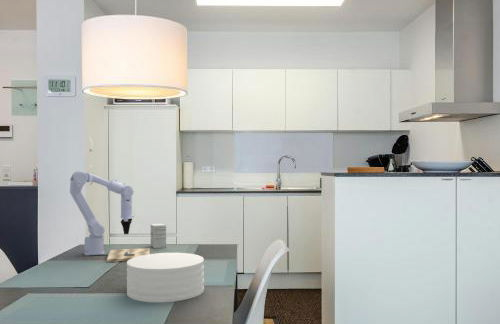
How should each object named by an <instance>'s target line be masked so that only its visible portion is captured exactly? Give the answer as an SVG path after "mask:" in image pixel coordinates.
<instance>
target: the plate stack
mask: <svg viewBox="0 0 500 324" xmlns="http://www.w3.org/2000/svg"><path fill="white" fill-rule="evenodd" d="M204 264H205V259H204V257H203V256H202V255H199V254H194V253H187V252H161V253H160V252H158V253H157V252H156V253H150V254H148V255H142V256H138V257H134V258H132V259H130V260H128V261H126V267H127V268H126V274H127V275H126V295H127V296H128V297H129V299H132V300H135V301H138V302H139V301H140V302H144V303H146V302H147V303H168V302H169V303H170V302H171V303H173V302H180V301H185V300H189V299H192V298H195V297H198V296H200V295H202V293H204V292H205V285H204V284H205V278H204V277H205V272H204V270H205V265H204Z"/></svg>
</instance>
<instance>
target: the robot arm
mask: <svg viewBox="0 0 500 324" xmlns="http://www.w3.org/2000/svg"><path fill="white" fill-rule="evenodd" d="M69 182H70V184H69V185H70V186H69V193H70V195H71V197H72V199H73V200H74V202H75V204H76V206H77V208H78V209H79V211H80V213H81V215H82V216H83V218H84V220H85V221H86V222H85V223H86V225H87V229H88V232H89V235H88V236H87V237H86V236H85V238H84V249H83V250H84V256H95V255H96V256H98V255H105V253H106V251H105V248H104V242H105V239H104V237H105V236H104V234H105V227H104V225H102V224H101V223H100V222H99V220H98V219H97V218H96V216H95V213H93V211H92V209H91V207H90V205H89V203H88V202H87V200H86V198H85V196H84V195H83V193H82V189H83V187H84V185H85V184H86V183H95V184H98V185H100V186H101V185H102V186H104V187H106V188H107V190H108V191H110V192H113V193H114V194H118V195H120V218H121V220H120V223H121V226H122V231H123V234H124V235H129V232H130V227H131V224H132V222H133V218H135V215H133V196H132V195H134V190H133V187H131V186H130V185H126V183H121V182H119V181H118V180H117V179H114V180H113V179H111V180H107V179H105V178H102V177H100V176H98V175H96V174H93V173H88V172H85V171H75V172H74V173H72V175H71V177H70V180H69Z"/></svg>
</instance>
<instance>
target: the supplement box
mask: <svg viewBox="0 0 500 324" xmlns="http://www.w3.org/2000/svg"><path fill="white" fill-rule="evenodd" d="M150 247H152V248H153V249H161V248H163V249H164V248H167V225H166V224H164V223H150Z"/></svg>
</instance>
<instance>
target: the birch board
mask: <svg viewBox="0 0 500 324" xmlns="http://www.w3.org/2000/svg"><path fill="white" fill-rule="evenodd" d="M126 252H130V253H131V256H125V253H126ZM148 254H151V253H150V247H144V248H143V247H142V248H141V247H140V248H123V249H121V248H120V249H110V250H109V252H108V255H107V258H106V263H118V261H124V262H127V261H128V260H130V259H132V258H134V257H138V256H142V255H148Z"/></svg>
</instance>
